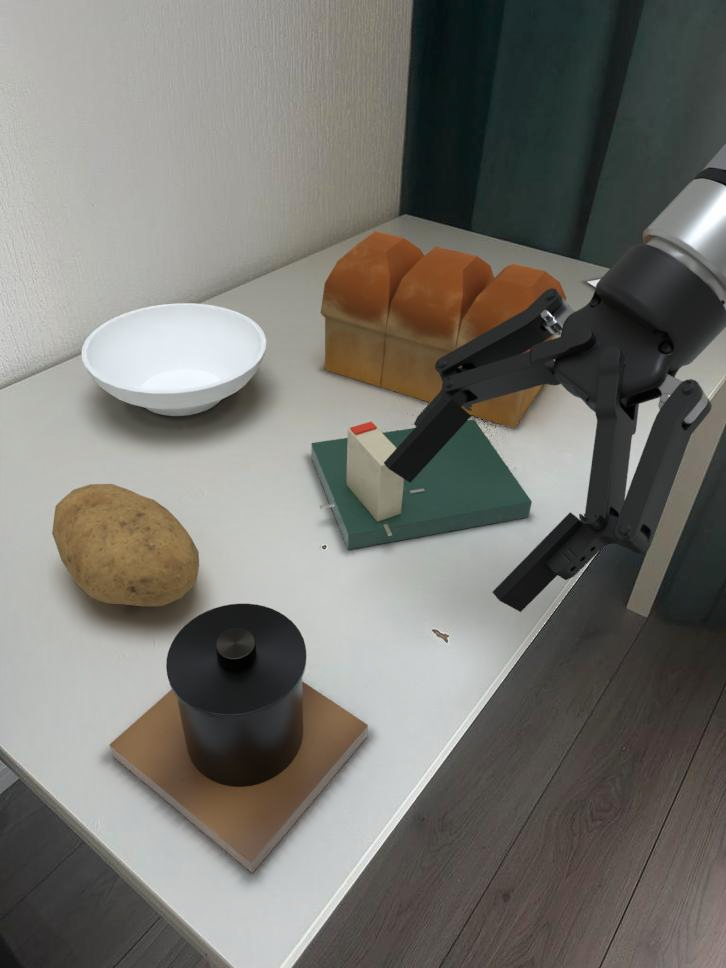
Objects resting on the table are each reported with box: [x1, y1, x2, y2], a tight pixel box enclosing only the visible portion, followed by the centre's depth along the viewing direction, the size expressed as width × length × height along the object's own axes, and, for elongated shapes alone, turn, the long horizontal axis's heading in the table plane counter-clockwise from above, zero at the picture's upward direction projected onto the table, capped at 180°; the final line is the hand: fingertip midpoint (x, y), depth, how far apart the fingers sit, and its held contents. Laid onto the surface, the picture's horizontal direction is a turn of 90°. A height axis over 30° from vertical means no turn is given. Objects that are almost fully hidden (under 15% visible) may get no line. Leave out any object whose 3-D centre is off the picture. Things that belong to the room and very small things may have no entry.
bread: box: [320, 230, 567, 429], centre depth 89 cm, size 25×12×15 cm, turn 62°
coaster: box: [586, 278, 601, 288], centre depth 114 cm, size 8×8×1 cm
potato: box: [51, 483, 200, 607], centre depth 63 cm, size 10×14×8 cm
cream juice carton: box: [346, 421, 404, 522], centre depth 70 cm, size 6×2×7 cm, turn 29°
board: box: [109, 680, 369, 874], centre depth 54 cm, size 13×12×2 cm
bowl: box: [81, 302, 267, 417], centre depth 86 cm, size 20×20×7 cm
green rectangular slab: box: [310, 419, 533, 551], centre depth 76 cm, size 15×20×2 cm
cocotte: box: [165, 603, 307, 787], centre depth 50 cm, size 9×9×10 cm
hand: (446, 532), depth 51 cm, fingers open, 13 cm apart
